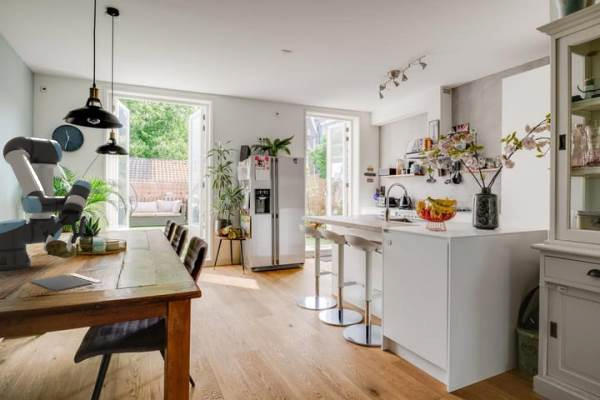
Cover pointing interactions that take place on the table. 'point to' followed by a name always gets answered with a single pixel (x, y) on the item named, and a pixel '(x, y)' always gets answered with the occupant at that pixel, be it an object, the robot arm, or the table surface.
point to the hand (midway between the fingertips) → (56, 249)
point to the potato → (59, 249)
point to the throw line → (85, 278)
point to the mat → (60, 282)
